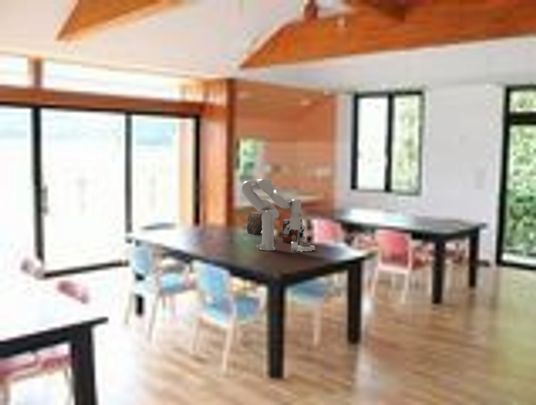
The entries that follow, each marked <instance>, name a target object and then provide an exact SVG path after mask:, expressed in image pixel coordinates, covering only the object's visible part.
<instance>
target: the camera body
mask: <svg viewBox="0 0 536 405" xmlns="http://www.w3.org/2000/svg"><path fill="white" fill-rule="evenodd" d="M315 248H316V246H315V245H311V243H310V242H304V241H303V242H298V252H303V251H305V252H313V251H312V250H315V251H316V249H315ZM303 253H304V252H303Z"/></svg>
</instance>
